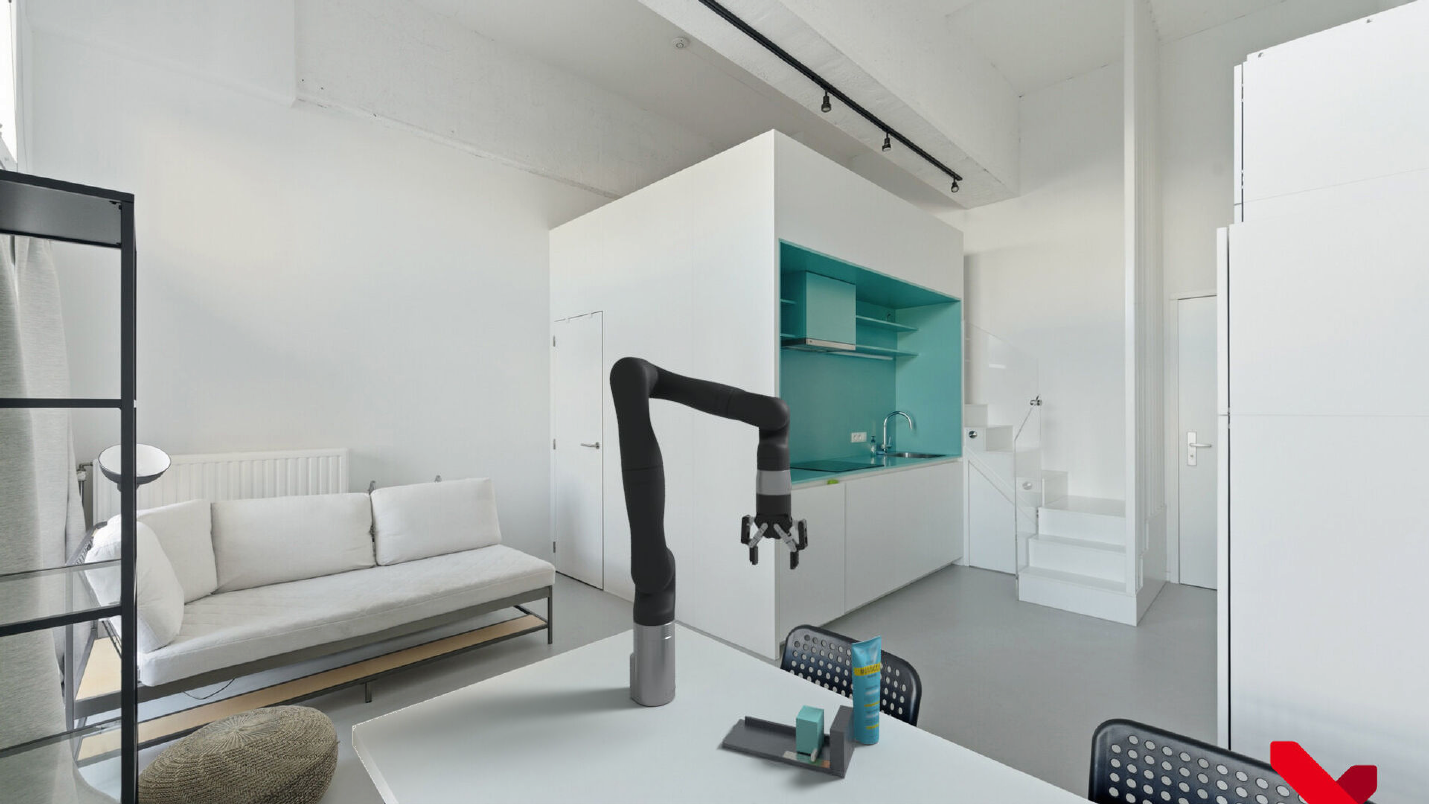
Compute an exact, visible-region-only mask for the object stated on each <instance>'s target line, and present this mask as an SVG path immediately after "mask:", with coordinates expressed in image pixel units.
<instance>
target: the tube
mask: <svg viewBox="0 0 1429 804" xmlns="http://www.w3.org/2000/svg"><path fill="white" fill-rule="evenodd" d="M850 646H851V649H850V650H851V673H852V674H851V675H852V676H851V677H852V679H851V680H852V682H851V683H852V707H853V708H854V741H856V742H859V743H860V744H864V745H875V744H877V743H878V742H879V741H880V699H881V698H880V696H881V695H880V693H881V660H882V659H881V658H882V652H881V651H882V635H878V636H874V637H872V638H870V639H866V640H863V641H862V640H861V641H858V642H855V643H854V642H853V643H851V645H850Z"/></svg>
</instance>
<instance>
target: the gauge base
mask: <svg viewBox="0 0 1429 804" xmlns="http://www.w3.org/2000/svg"><path fill="white" fill-rule="evenodd" d="M721 746H722V749H727V750H729V749H730V751H734V752H738V753H741V752H742V754H747V755H749V754H750V755H749V756H753V757H758V758H762V759H766V760H770V761H774V762H778V763H782V764H785V765H789V766H794V767H797V768H801V769H805V770H809V771H813V772H818V773H822V774H825V775H829V776H833V777H838V778H841V779H846V778H845V777H846V774H847V771H848V769H849V766H850V763H851V760H852V759H853V758H852V757H853V756H854V755H853V754H854V752H855V738H854V708H853V706H848V705H841V704H840V705H839V707H838V710H837V713H836V714H835V717H834V719H833V721H832V723H831V725H830V727H829V733H825V732H824V743H823V745H822V747H821V749H820V751H819V754H818V756H817V757H816V759H815V761H814V762H813V761H811V754H808V753H804V752H800V751H796V726H793V725H789V724H784V723H780V722H775V721H771V720H766V719H763V718H758V717H753V716H748V715H745V716H744V719H741V718H739V719H738V721H737V722H736V723H735V724H734V726H733V727H732V728H731V730H730V731H729V733H728V734H727V735H726V737H725V738H724V739H723V741H722V744H721Z"/></svg>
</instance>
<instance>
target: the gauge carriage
mask: <svg viewBox="0 0 1429 804" xmlns="http://www.w3.org/2000/svg"><path fill="white" fill-rule="evenodd" d="M795 727H796V751H800V752H804V753H808V754H811V761H813V762H814V761H815V759H816V757H817V756H818V754H819V751H820V749H821V747H822V745H823V743H824V733H825V709H824V708H819V707H815V706H809V705H806V704H805V705H804V704H803V705H802V706H801V708H800V710H799V711H798V713H797V716H796V717H795Z"/></svg>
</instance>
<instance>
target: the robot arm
mask: <svg viewBox="0 0 1429 804" xmlns="http://www.w3.org/2000/svg"><path fill="white" fill-rule="evenodd" d="M609 386H610V391H611V396H612V401H613V405H614V410H615V414H616V422H617V428H618V429H617V430H618V443H619V445H618V446H619V454H620V455H619V456H620V469H621V480H622V487H623V494H624V501H625V507H626V508H625V509H626V513H627V514H626V515H627V519H628V523H629V525H628V526H629V531H630V532H629V533H630V576H631V580H632V582H633V584H634V599H633V601H634V602H633V607H632V634H633V635H632V637H633V639H632V640H633V642H632V643H633V644H632V645H633V649H632V650H633V652H632V653H630V655H629V698H630V699H633V700H635V702H637V704H640V705H643V706H648V707H656V706H662V705H666V704H669V703H670V702H672V701H673V700H674V699H675V697H676V687H677V686H676V615H675V614H676V593H677V591H676V590H677V589H676V588H677V587H676V586H677V585H676V583H677V582H676V579H677V578H676V577H677V576H676V575H677V574H676V573H677V572H676V570H677V568H676V559H675V555H674V553H673V552H672V550H671V549H670V548H669V547H668V546H667V541H666V535H665V523H664V521H665V507H666V504H665V503H666V478H665V469H664V468H665V467H664V460H663V455H662V451H661V448H660V445H659V442H658V438H657V436H656V434H655V431H654V427H653V426H652V425H653V424H652V422H651V421H652V420H651V415H650V413H651V412H650V399H656V400H664V401H670V402H673V403H677V404H681V405H683V406H686V407H689V408H692V409H693V410H697V411H699V412H703V413H706V414H709V415H712V416H715V417H718V418H719V417H720V418H724V419H728V420H731V421H732V420H733V421H738V422H742V423H744V424H746V425H750V426H753V427H755V428H758V444H757V449H756V476H755V516H751V515H750V514H746V515H744V516H742V517H741V528H740V543H741V544H742V545H746V546H748V549H749V551H748V553H749V555H748V556H749V557H748V558H749V559H748V560H749V562H750V563H751V565H752V566H756V565H758V564H759V545H758V544H759V543H760V541H762V539H763V538H764V539H768V540H769V539H773V540H781V539H782V541H783V542H784V543H785V544H786V545H787V547H788V548H789V549H790V552H789V562H790V563H789V569H790V571H791V570H792V571H794V570H795V569H796V568H797V567H798V566H799V564H800V551H804V550H805V549H806V548H808V546H809V540H808V539H809V538H808V528H807V520H806V519H805V518H802V519H799V520H798V519H793V517H792V490H793V489H792V478H791V453H790V443H789V442H790V426H791V424H790V423H791V409H790V406H789V405H788V403H787V402H786V400H784V399H782V398H781V397H777V396H770V395H765V394H760V393H755V392H750V391H747V390H745V389H742V388H740V387H736V386H733V385H728V384H724V383H720V382H716V381H710V380H705V379H700V378H695V377H690V376H687V375H681V374H679V373H676V372H674V371H673V372H672V371H670V370H667V369H665V368H662V367H660V366H658V365H655V363H654V364H653V363H652V362H650V361H648V360H647V359H644V358H641V357H635V356H625V357H621V358H620V359H618V360H617V361H615V363H613V365H612V367H611V369H610V372H609ZM753 525H755V527H757V529H758V530H757V531H756V532H755V534H753V535H754V536H753V537H751V526H753ZM793 526H794V528H795V530H796V531H797V533H798V542H797V540H796V538H795V535H794V534H793V533H792V531H791V528H792V527H793Z"/></svg>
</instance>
